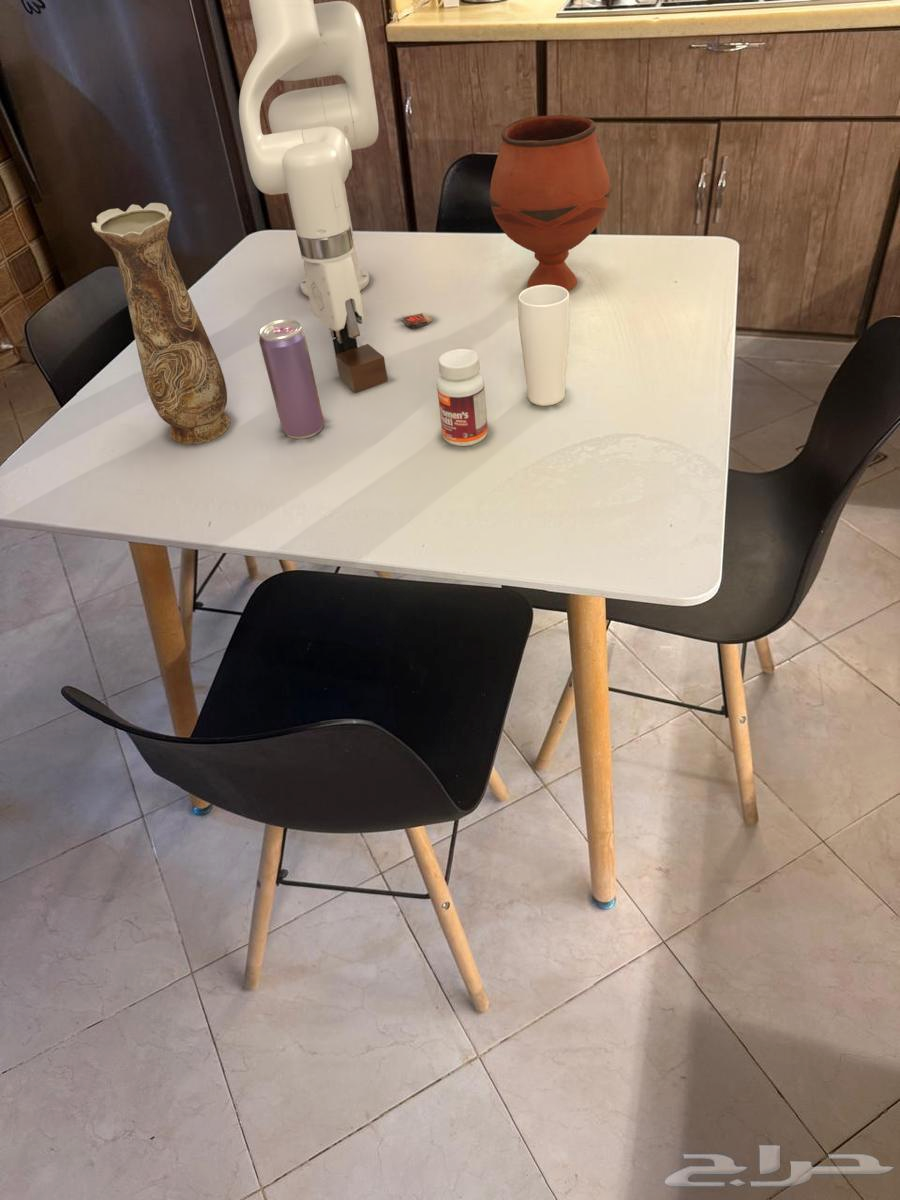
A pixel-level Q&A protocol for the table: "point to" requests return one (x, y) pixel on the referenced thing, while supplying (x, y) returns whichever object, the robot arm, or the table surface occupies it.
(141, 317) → the vase
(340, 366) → the walnut block
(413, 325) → the painted wall fragment
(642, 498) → the table surface
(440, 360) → the pill bottle
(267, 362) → the beverage can
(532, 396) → the drinking glass
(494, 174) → the goblet
